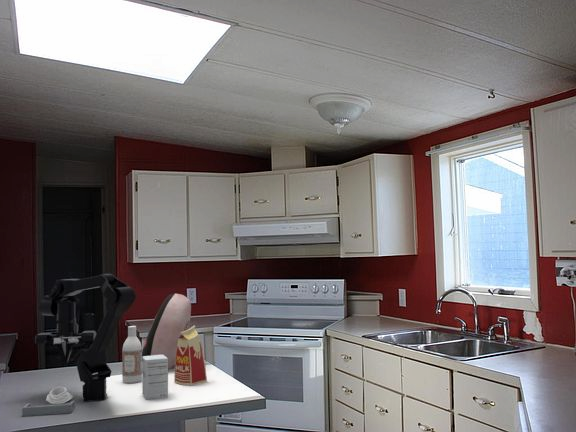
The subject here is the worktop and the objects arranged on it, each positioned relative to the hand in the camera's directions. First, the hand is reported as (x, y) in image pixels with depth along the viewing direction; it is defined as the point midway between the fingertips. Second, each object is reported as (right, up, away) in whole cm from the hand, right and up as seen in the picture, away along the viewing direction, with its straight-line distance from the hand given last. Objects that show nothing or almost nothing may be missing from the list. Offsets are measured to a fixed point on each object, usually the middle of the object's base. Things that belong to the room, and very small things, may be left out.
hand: (66, 362), depth 184 cm
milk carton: (+39, -11, +13) cm, 43 cm away
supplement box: (+31, -10, -5) cm, 33 cm away
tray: (+3, -9, -21) cm, 23 cm away
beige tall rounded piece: (+25, -13, +40) cm, 49 cm away
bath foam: (+18, -11, +16) cm, 27 cm away
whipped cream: (+2, -10, -9) cm, 14 cm away
